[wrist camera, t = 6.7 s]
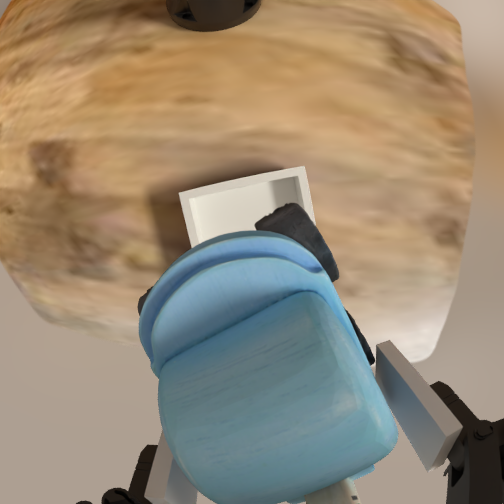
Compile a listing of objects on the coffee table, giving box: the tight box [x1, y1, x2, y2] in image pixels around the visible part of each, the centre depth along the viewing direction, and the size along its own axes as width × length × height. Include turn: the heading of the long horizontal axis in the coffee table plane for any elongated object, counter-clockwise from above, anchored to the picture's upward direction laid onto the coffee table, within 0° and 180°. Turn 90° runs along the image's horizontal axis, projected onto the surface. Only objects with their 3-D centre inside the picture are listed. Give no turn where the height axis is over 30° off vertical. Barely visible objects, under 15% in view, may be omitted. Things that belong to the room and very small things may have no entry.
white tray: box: [179, 166, 316, 248], centre depth 36 cm, size 22×15×6 cm
